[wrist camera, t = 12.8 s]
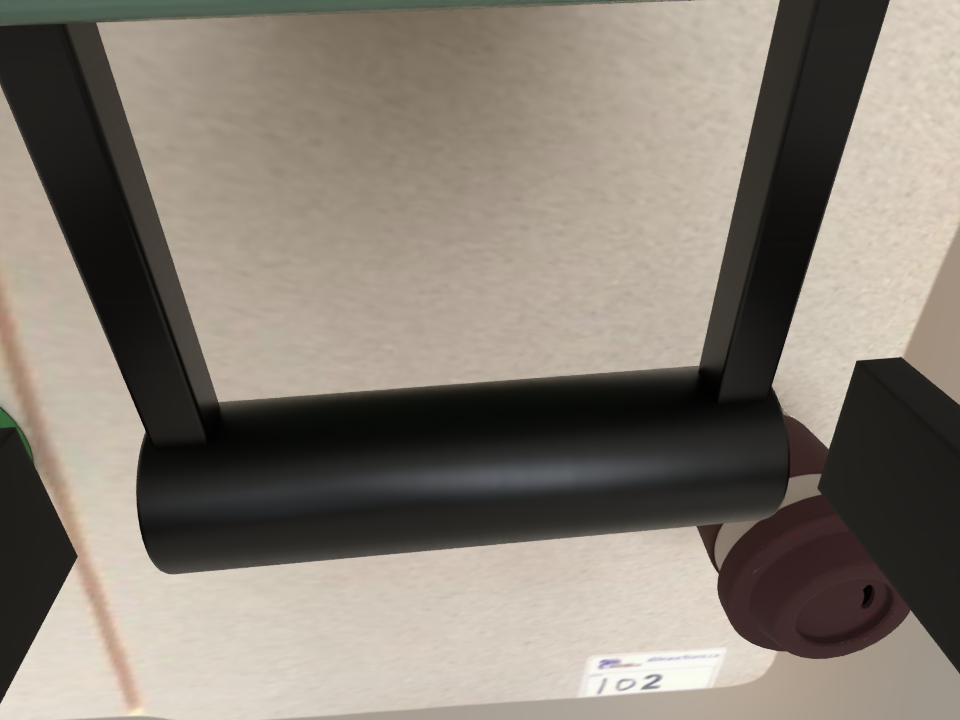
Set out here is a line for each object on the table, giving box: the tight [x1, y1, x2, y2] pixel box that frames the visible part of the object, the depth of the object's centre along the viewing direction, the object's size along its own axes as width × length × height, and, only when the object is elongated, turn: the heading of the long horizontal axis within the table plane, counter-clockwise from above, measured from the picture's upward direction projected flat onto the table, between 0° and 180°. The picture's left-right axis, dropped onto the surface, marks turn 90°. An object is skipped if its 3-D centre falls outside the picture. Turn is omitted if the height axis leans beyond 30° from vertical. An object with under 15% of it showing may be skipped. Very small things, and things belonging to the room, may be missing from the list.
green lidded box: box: [0, 0, 890, 574], centre depth 13 cm, size 20×15×8 cm
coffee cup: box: [697, 408, 910, 659], centre depth 38 cm, size 10×10×15 cm
